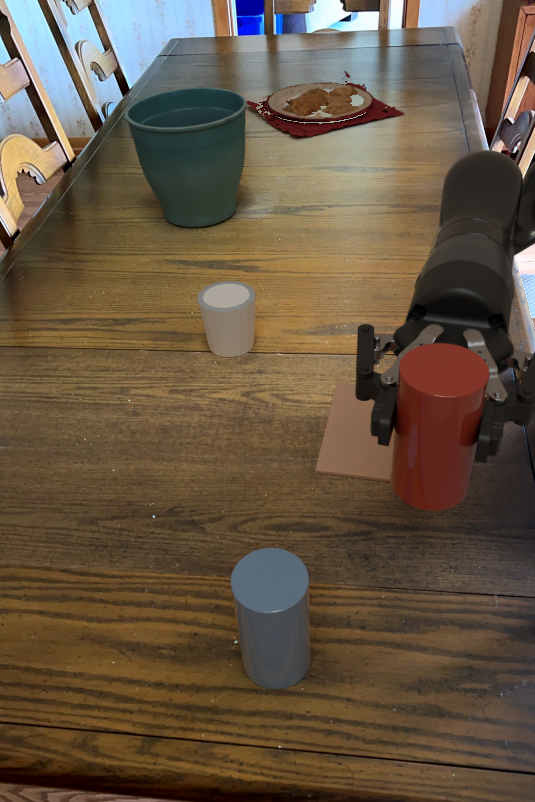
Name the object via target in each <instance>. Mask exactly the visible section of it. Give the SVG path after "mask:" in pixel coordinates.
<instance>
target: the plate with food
mask: <svg viewBox="0 0 535 802" xmlns="http://www.w3.org/2000/svg"><path fill="white" fill-rule="evenodd" d="M343 73H344V74H345V75H344V76H345V77H343V78H342V79H344V78H347V79H350V78H351V75H350V74H349V73H348V72H347V71H346V70H344V72H343ZM347 81H348V80H347ZM347 81H345V82H346V83H347ZM323 89H329V90H331V89H332V91H330V92H329V93H328V92H327V91H325V90H323ZM333 89H334V90H333ZM369 92H370V91H368V90H367V87H366V84H365V83H362V85H361V84H360V83H358V84H357V83H353V82H352V83H347V84H345V85H344V84H338V83H336V82H331V81H329V82H317V81H316V82H313V83H312V82H311V83H303V84H295V85H289V86H286V87H284V88H281V89H279V90H277V91H276V92H272V93H271V94H269V95H266V96H265V97H264V98H266V97H268V98H267V100H266V101H263V102H259V103H262V104H261V105H263V107H262V108H260V109H258V110H257V109H256V107H257V106H260V105H259V104H257V103H254V102H251V101H252V100H246V105H247V106H248V107H250V108H251V109H252V110H256V112H257V111H259V110H261V111H262V112H261V114H260V113H258V114H259V116H261V117H263V118H266V117H267V118H266V119H265V122H267V123H268V124H269V125H271V127H273V128H275V129H276V130H280V131H282V132H285V133H289V134H290V135H292V136H300V137H301V138H303V137H304V136H305V137H307V138H309V137H313V136H317V135H322V134H326V133H329V131H331V130H333V129H335V130H336V129H340V128H344V127H345V126H353V125H357V124H362V123H363V124H365V123H368V122H370V121H373V120H377V121H379V120H382V119H385V118H388V117H398V116H402V115H404V114H405V112H403V111H402V110H399V109H397V108H396V106H391V105H388V104H387V103H384V102H383V101H382V100H379V99H377V98H375V97H374V96H373V95H372V93H371V92H370V93H371V94H370V93H369ZM299 94H302V95H300V96H299V97H297V98H295V99H290V100H289V101H288V99H289V98H292V97H294V96H296V95H299ZM357 94H358V95H359V96H361V97H362V98H363V99H364V102H363V104H361V105H359V106H352V104H350V103H351V102H352V99H351V97H350V96H352V95H357ZM284 101H285V102H286V103H288V104H289V105H288V106H286V107H285V108H283V106H285V105H284V104H286V103H285V102H284ZM320 106H327V107H326V108H325V109H323V110H322V109H321V107H320ZM385 107H387V108H385ZM264 109H265V110H264ZM318 110H322V112H325V113H328V114H331V115H333V116H330V117H322V116H319V115H321V114H320V113H317V114H316V116H314V117H306V116H308V115H311V114H314V113H312V112H317V111H318ZM265 111H267V112H268V111H269V112H270V113H271V114H270V115H268V113H264V112H265ZM385 111H387V112H385ZM365 112H366V113H365ZM263 113H264V114H263ZM364 113H365V114H364ZM262 114H263V115H264V116H263V115H262ZM361 114H363V115H361ZM358 115H361V116H358ZM276 116H277V117H276ZM356 116H358V117H356ZM278 117H280V118H282V119H280V118H278ZM353 117H356V118H353ZM349 118H353V119H349ZM283 119H287V120H292V121H287V120H283ZM344 119H349V120H345V121H340V122H334V123H322V124H319V123H305V124H304V123H299V122H330V121H339V120H344ZM293 121H298V122H293Z"/></svg>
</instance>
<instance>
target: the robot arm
mask: <svg viewBox="0 0 535 802" xmlns="http://www.w3.org/2000/svg"><path fill="white" fill-rule="evenodd" d="M534 245H535V161H534V162H532V163H531V165H530V166H529V167H528V169H527V170H526V173H525V175H524V176H523V172H522V170H521V168H520V166H519V165H518V163H517V162H516V161H515V160H514V159H513V158H511V157H510V156H509V155H508V154H505V153H504V152H500V151H497V150H491V149H490V150H489V149H483V150H477V151H473V152H470V153H468V154H465V155H464V156H462V157H460V158H459V159H458V160H456V161H455V162H454V163H453V164H452V165H451V166H450V168H449V169H448V171H447V172H446V174H445V177H444V180H443V185H442V191H441V200H440V206H439V218H438V224H437V229H436V233H435V236H434V238H433V240H432V243H431V245H430V249H429V252H428V255H427V259H426V260H425V262H424V264H423V266H422V268H421V270H420V273H419V274H418V276H417V277H416V281H415V283H414V286H413V287H414V291H413V294H412V298H411V302H410V304H409V308H408V311H407V313H406V318H405V321H404V323H403V324H402V325H401V326H399V327H397V328H396V329H395V331H394V333H375V327H374V326H373V325H372V324H369V323H362V324H360V325H358V326H357V333H356V334H357V337H356V359H355V361H356V363H355V384H356V389H355V397H356V398H357V399H358V400H360V401H368V400H370V399H372V400H374V401H375V403H374V406H373V409H372V412H371V424H370V431H371V435H372V436H376V437H378V445H383V446H389V444H390V440H391V436H392V433H393V429H394V423H395V410H396V397H397V385H398V372H399V364H400V361H401V359H402V358H403V356H404V355H405V354H406V353H407V352H409V351H410V350H412V349H414V348H416V347H418V346H422V345H426V344H432V343H446V344H453V345H458V346H462V347H464V348H467V349H469V350H471V351H473V352H475V353H477V354H478V355H479V356H480V357H481V358H483V359H484V361H485V362H486V364H487V365H488V368H489V372H490V376H489V382H488V387H487V393H486V398H485V404H484V409H483V414H482V418H481V424H480V429H479V435H478V440H477V447H476V453H475V458H474V462H476V463H483V464H486V463H487V460H488V456H490V457H497V456H498V454H499V453H500V452H501V451H500V450H501V447H502V441H503V438H504V437H503V436H504V427H505V424H506V423H508V422H509V423H510V422H512V423H514V424H515V425H517V426H521V427H527V426H529V425H530V424H531V422H532V420H533V417H534V415H535V351H534V352H533V353H529V352H526V351H521V350H516V349H515V347H514V344H513V342H512V341H511V340H510V339H509V331H510V322H511V314H512V313H511V312H512V304H513V300H514V297H515V288H514V276H513V268H514V260H515V256H516V255H518V254H520V253H522V252H523V251H526V250H527V249H528V248H530V247H531V246H534ZM389 352H392V353H393V355H394V356H395V357H396V359H395V362H394V363H393V364H392V365H391V366H390V367H388V368H387V369H386V370H385V371H384V372H383V373H380V372H377V371H375V366H377V365H379V364H380V360H382V359H384V358H385V355H386V354H387V353H389ZM510 368H511V369H513V370H514V372H515V377H516V379H518V380H519V383H518V384H519V387H518V388H517V391H515V392H507V390H506V388H505V386H504V384H503V383H502V381H501V378H500V375H501V374H503V373H505V372H507V371H508V370H509V369H510Z"/></svg>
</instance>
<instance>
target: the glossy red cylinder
mask: <svg viewBox="0 0 535 802" xmlns="http://www.w3.org/2000/svg"><path fill="white" fill-rule="evenodd" d="M489 376H490V372H489V368H488V365H487V364H486V362H485V361H484V359H483V358H481V357H480V356H479V355H478V354H477V353H475V352H473V351H471V350H469V349H467V348H464V347H462V346H458V345H453V344H446V343H432V344H426V345H422V346H418V347H416V348H414V349H412V350H410V351H409V352H407V353H406V354H405V355H404V356H403V358H402V359H401V361H400V364H399V372H398V385H397V397H396V410H395V423H394V435H393V448H392V460H391V473H390V482H389V483H390V485H391V488H392V490H393V492H394V493H395V495H396V496H397V497H398V498H399V499H400V500H401V501H403V502H404V503H405V504H407V505H409V506H411V507H413V508H415V509H419V510H423V511H429V512H430V511H431V512H434V511H435V512H436V511H437V512H438V511H444V510H445V511H446V510H449V509H451V508H454V507H456V506H458V505H459V504H460V503H461V502H463V500H465V499H466V497H467V495H468V493H469V490H470V485H471V480H472V473H473V469H474V464H475V454H476V447H477V440H478V435H479V429H480V424H481V418H482V414H483V409H484V404H485V398H486V393H487V387H488V382H489Z"/></svg>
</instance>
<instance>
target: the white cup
mask: <svg viewBox="0 0 535 802" xmlns="http://www.w3.org/2000/svg"><path fill="white" fill-rule="evenodd" d="M196 300H197V304H198V308H199V311H200V316H201V320H202V324H203V328H204V332H205V337H206V341H207V344H208V348H209V351H210V352H212V353H213V354H214V355H216V356H218V357H222V358H236V357H241V356H243V355H245V354H247V353H249V352H250V351H251V350H252V349H253V348H254V344H255V333H256V331H255V329H256V328H255V325H256V291H255V289H254V287H252V286H251V285H250V284H248V283H245V282H242V281H238V280H236V281H235V280H224V281H218V282H214V283H212V284H209V285H207V286H205V287H203V289H201V290H200V291H199V292H198V295H197V297H196Z"/></svg>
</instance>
